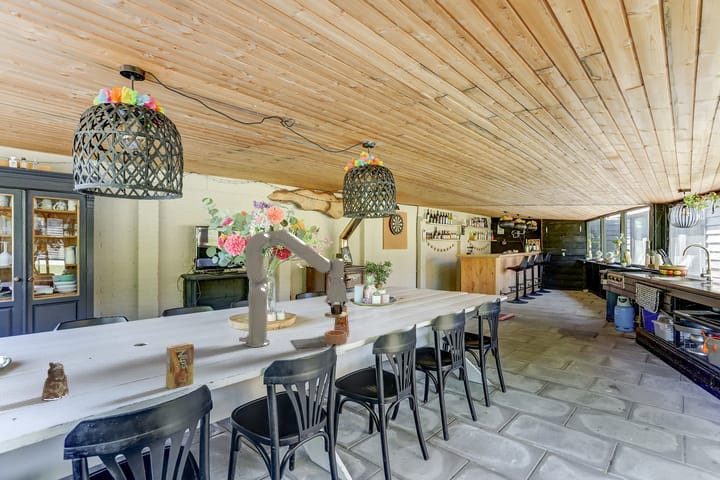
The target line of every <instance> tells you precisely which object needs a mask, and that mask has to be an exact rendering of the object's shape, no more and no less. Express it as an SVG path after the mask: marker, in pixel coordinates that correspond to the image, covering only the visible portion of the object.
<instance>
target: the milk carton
mask: <svg viewBox="0 0 720 480" xmlns="http://www.w3.org/2000/svg"><path fill="white" fill-rule="evenodd" d="M342 312H346V313H348V306H347V305H346V304H344V305H343V307H342ZM333 330H342V331H346V332H347V338H348V337H350V323H349V315H348V316H347V317H343V318H334V327H333Z"/></svg>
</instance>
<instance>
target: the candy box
mask: <svg viewBox="0 0 720 480" xmlns="http://www.w3.org/2000/svg"><path fill="white" fill-rule="evenodd" d="M194 345H195V344H193V343H191V342H186V343H181V344H176V345H171V346H166V360H165V361H166V363H165V364H166V365H165V366H166V367H165V368H166V369H165V370H166V373H165V376H166V377H165V378H166V379H165V388H167V389H169V390H173V388H174V389H176V388H181V387H184V386H188V385H191V384H194V358H195V357H194V354H195V353H194V352H195V346H194Z"/></svg>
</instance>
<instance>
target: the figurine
mask: <svg viewBox="0 0 720 480" xmlns="http://www.w3.org/2000/svg"><path fill="white" fill-rule="evenodd" d="M48 366H49V368H48V370H47V377H46V379H45V380H44V384H43V388H42V395H41V397H42V400H43V399H54V398H59V397H62V396H65V395H66V394H68V393H69V388H68V378H67V376H68V375H67V374H66V373H65V368H64V365H63V363H60V362H55V363H54V362H52V361H51V362H49V364H48ZM68 395H69V394H68Z"/></svg>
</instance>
